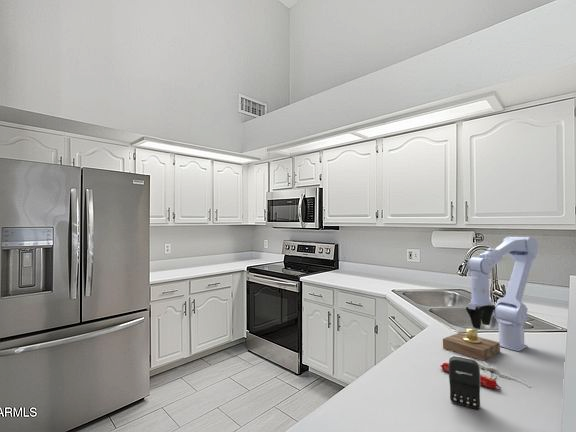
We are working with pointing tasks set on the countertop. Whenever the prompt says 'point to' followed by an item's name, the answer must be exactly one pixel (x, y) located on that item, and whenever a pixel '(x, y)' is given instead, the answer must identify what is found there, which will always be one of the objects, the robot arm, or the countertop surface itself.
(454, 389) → the battery charger
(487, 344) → the hitch block
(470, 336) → the pin
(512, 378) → the pliers
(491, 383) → the candy bar
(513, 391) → the countertop surface
